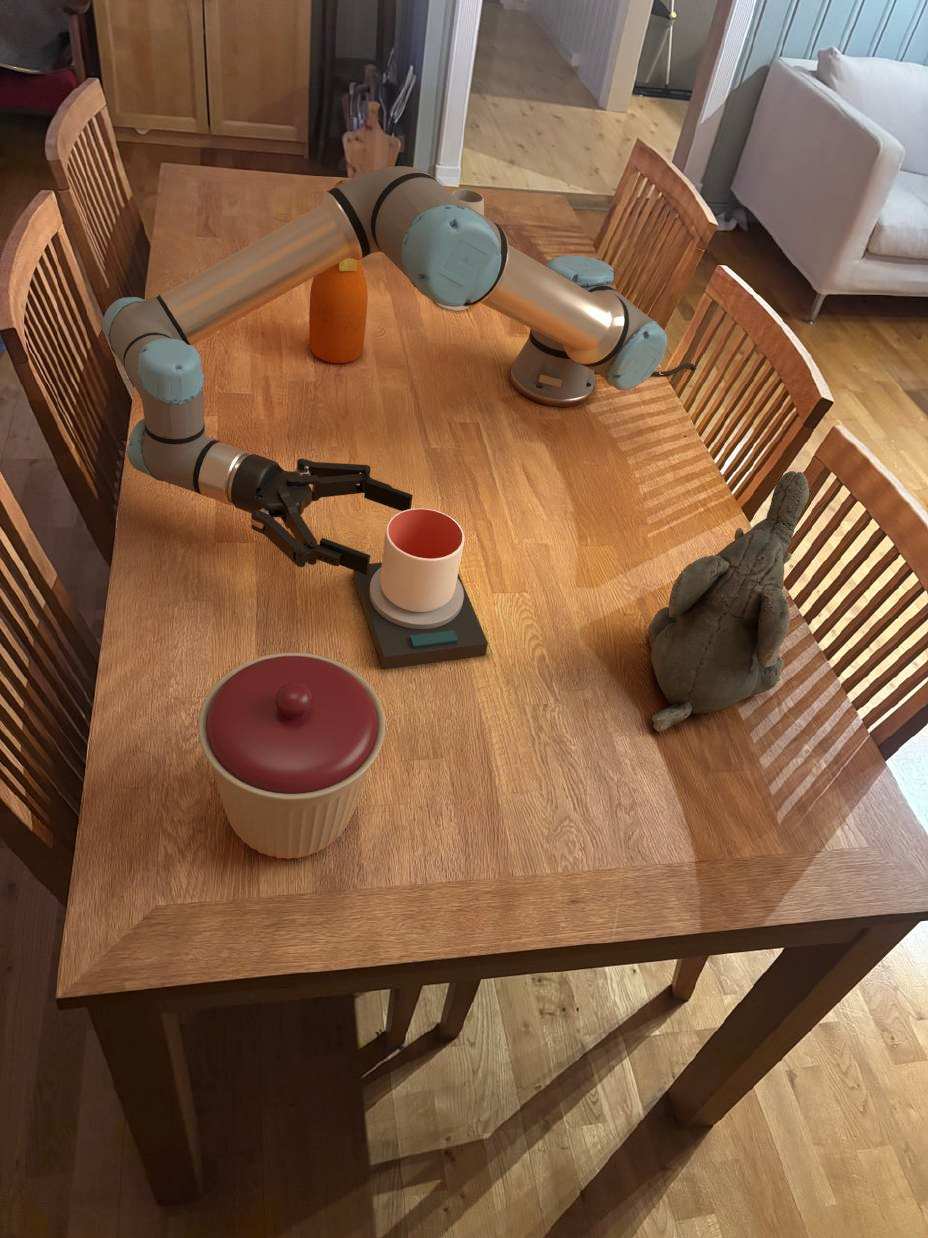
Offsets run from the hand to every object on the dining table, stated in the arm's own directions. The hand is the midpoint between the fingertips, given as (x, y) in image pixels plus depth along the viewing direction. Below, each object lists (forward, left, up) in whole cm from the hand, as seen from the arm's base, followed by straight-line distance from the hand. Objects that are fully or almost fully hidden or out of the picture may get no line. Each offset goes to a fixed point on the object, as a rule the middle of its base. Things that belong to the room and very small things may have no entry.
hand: (390, 533), depth 124 cm
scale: (-4, +4, -11) cm, 13 cm away
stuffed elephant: (-39, +21, -11) cm, 46 cm away
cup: (-4, +3, -8) cm, 9 cm away
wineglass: (-34, -79, -11) cm, 86 cm away
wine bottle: (-7, -62, -11) cm, 63 cm away
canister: (+18, +31, -11) cm, 38 cm away
